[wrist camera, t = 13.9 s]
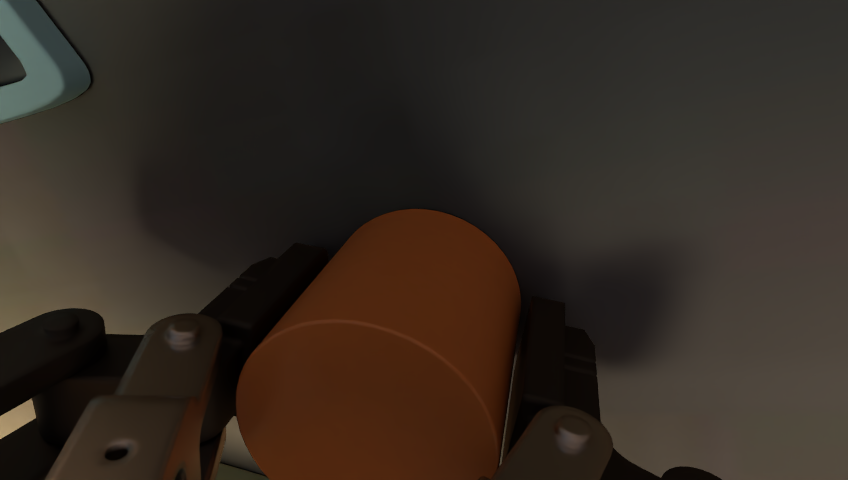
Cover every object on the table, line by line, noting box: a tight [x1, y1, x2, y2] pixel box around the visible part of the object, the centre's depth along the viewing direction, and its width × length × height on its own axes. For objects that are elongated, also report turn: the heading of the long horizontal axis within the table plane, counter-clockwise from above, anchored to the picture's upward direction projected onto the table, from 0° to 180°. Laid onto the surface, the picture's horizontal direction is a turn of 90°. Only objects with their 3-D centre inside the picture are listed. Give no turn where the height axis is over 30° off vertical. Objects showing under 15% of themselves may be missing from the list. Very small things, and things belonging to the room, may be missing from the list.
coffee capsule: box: [235, 209, 521, 480], centre depth 12 cm, size 5×5×5 cm
